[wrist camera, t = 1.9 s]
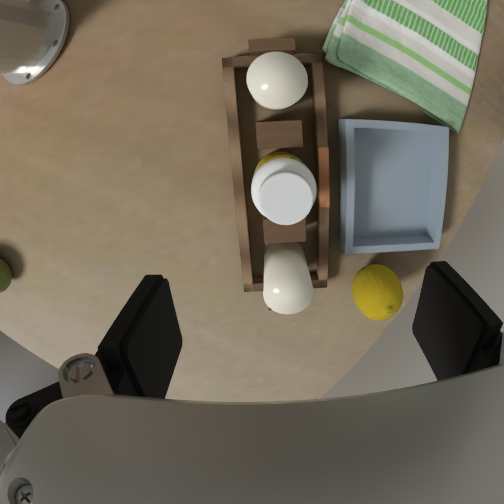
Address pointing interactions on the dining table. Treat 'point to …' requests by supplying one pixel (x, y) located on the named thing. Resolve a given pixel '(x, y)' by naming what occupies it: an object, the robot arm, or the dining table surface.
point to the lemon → (377, 292)
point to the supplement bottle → (283, 188)
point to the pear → (4, 275)
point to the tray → (391, 185)
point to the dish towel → (413, 50)
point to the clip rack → (279, 137)
